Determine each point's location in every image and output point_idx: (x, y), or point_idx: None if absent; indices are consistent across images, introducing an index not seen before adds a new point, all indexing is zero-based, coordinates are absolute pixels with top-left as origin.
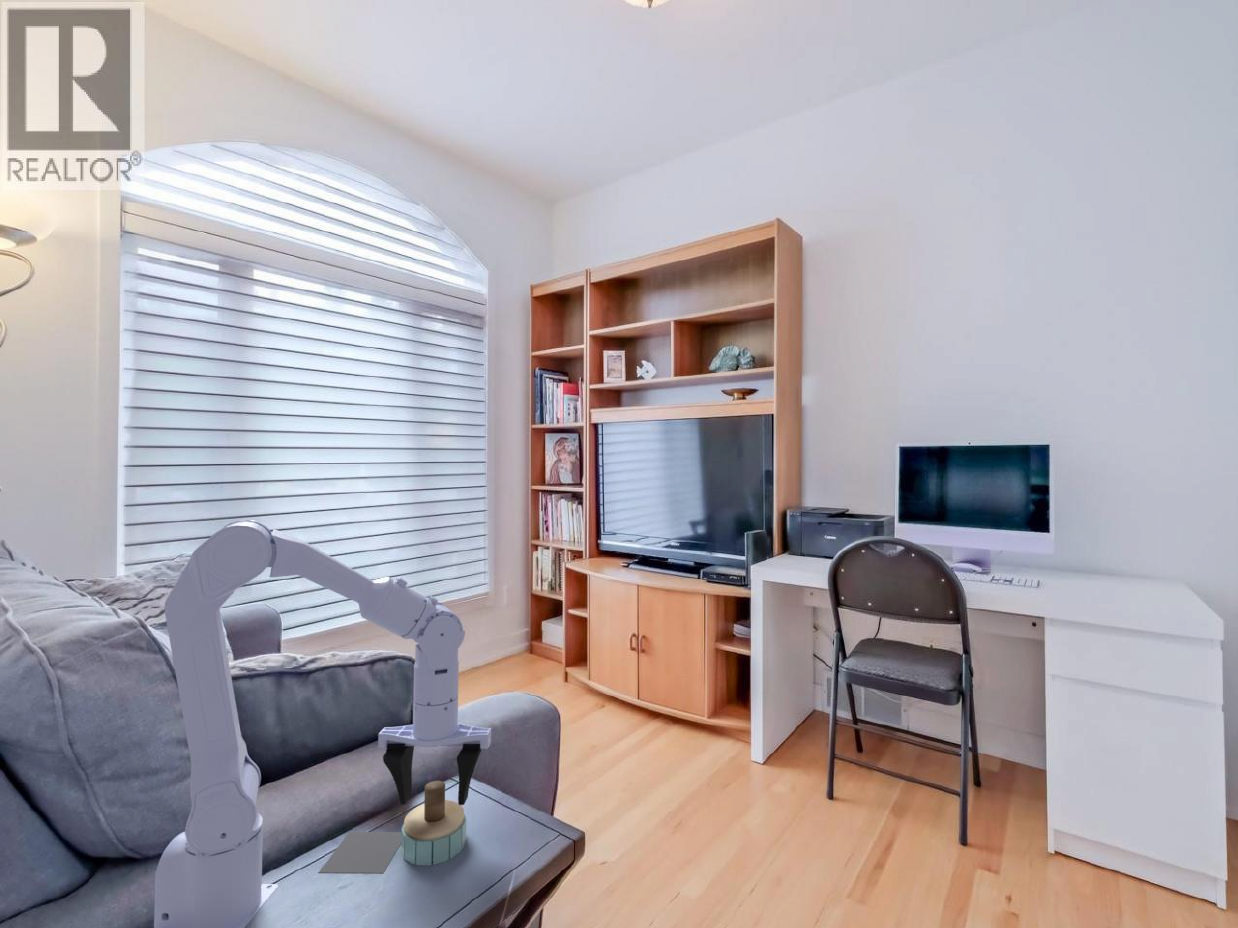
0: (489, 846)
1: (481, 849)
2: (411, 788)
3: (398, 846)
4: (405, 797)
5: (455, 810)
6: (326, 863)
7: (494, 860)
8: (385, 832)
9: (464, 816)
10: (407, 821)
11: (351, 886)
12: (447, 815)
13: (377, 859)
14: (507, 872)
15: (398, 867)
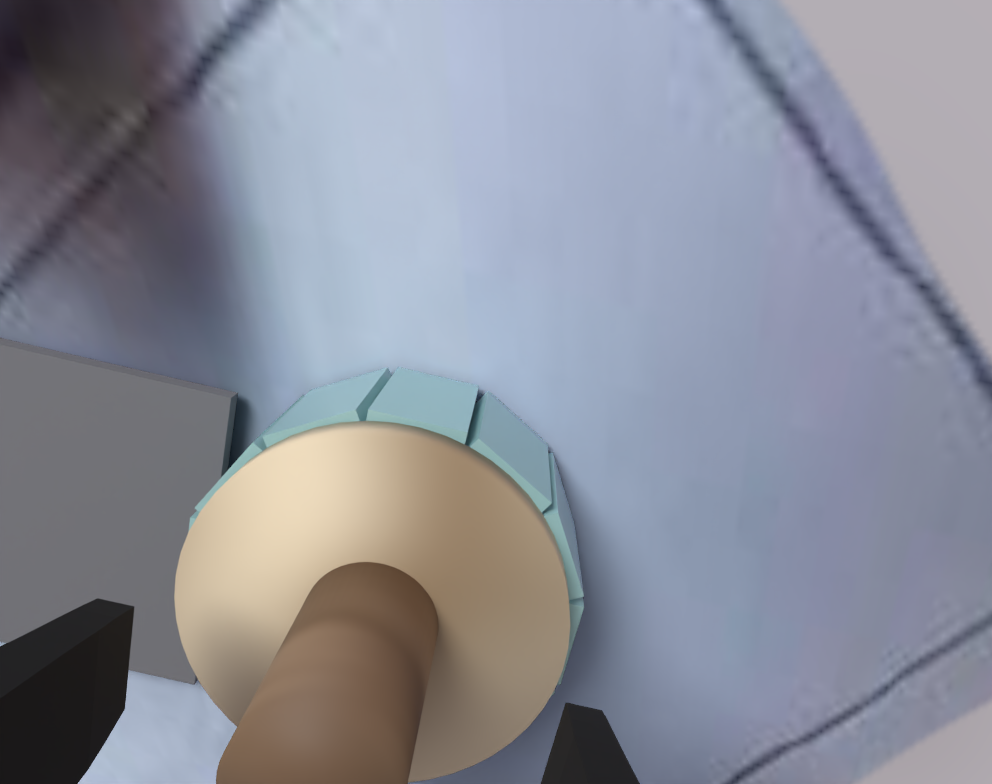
0: (696, 569)
1: (653, 582)
2: (101, 637)
3: None
4: (92, 750)
5: (508, 587)
6: None
7: (712, 672)
8: (101, 370)
9: (570, 578)
10: (201, 634)
11: None
12: (457, 634)
13: (136, 589)
14: (763, 757)
15: None
